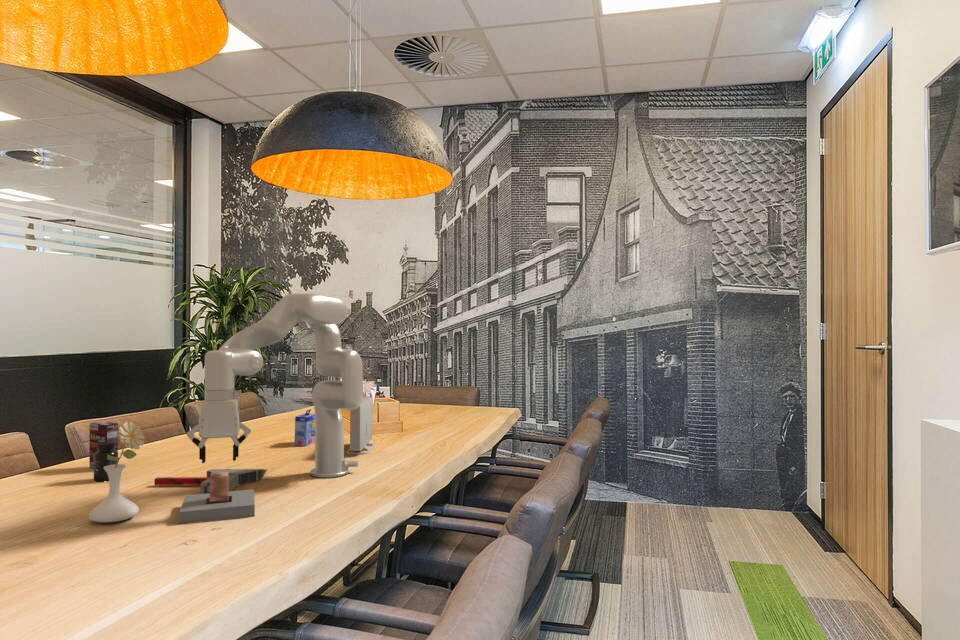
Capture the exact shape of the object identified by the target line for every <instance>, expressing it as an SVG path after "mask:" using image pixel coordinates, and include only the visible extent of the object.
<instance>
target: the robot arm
mask: <svg viewBox="0 0 960 640" xmlns="http://www.w3.org/2000/svg"><path fill="white" fill-rule="evenodd" d="M347 316H348V307H347V305H346V303H345V301H343V300H342V299H340V298H339V297H334V296H327V295H322V294H317V293H289V294H286V295H284V296H283V297H282V298H281V299H279V301H278V302H277V303H276V304H275V305H274V306H273V307H272V308H271V309H270V310H269V311H268V312H267V313H266V314H265V315H264V316H263V317H262V318H261V319H260V320H258V321H257V322H255V323H253V324H251V325H249V326H248V327H245V328H243V329H241V330H240V331H238V332H236V333H234V334H233V335H232V336H230V337H229V338H228V339H227V340H226V341H225V342H224V343H223V344H222V345H221V346H220V347H219V348H218V350H217V349H216V350H208V351H206V353H205V355H204V400H202V401H201V403H200V409H199V418H198V421H199V422H198V424H197V425H194V427H193V428H191V429H190V430H189V431H188V432H186V436H187V438H188V439H189V440H190V441H191V442H192V443H193V444H195V446H196V447H198V449H199V454H198V455H199V457H198V459H199V460H200V461H201V463H202V464H205V463H206V460H207V459H206V458H207V457H206V456H207V455H206V450H207V449H206V442H207V441H208V440H209V439H222V438H223V439H224V438H226V439H227V438H230V439H231V441H232V442H233V445H232V461H233V462H235V461H236V460H237V459H236V458H239V454H240V452H239V447H240V445H241V444H242V442H244V441H245V439H246V438H248V436H249V435H250V434H251V432H252V430H251V428H249V427H248V426H247V425H245V424H244V423H243V422H241V421H240V408H239V401H238V399H235V398H236V397H239V396H241V390H236V389H235V376H254V375H256V374H257V373H259V372H260V371H261V369H262V367H263V365H264V358H263V355H261V353H260V352H259V351H257V350H258V349H260V348H264V347H267V346H271V345H274V344H277V343H279V342H281V341H282V340H283V339H284V338H285V337H286V336H287V335H288V334H289V332H290V331H291V330H292V329H293V328H294V327H295V326H296V325H297V324H298V323H299V322H301V321H303V322H304V323H306V324H307V326H308V327H310V329H311V331H312V332H313V334H314V342H315V343H314V344H315V365H316V370H317V372H318V374H319V375H321V376H323V377H332V378H341V380H334V379H326V380H325V379H324V380H321V381H318V382H317V383H316V384H314V386H313V389H312V394H311V396H312V397H311V399H312V403H313V408H314V409H313V410H314V414H315V442H314V443H315V444H314V445H315V446H314V447H315V449H314V468H312V469H311V470H310V471H309V473H310V476H312V477H314V478H320V479H321V478H323V479H327V478H338V477H342V475H343V476H345V474H346V475H347V474H348V473H349V468H357V467H358V466H359V462H358V460H346V459H345V420H344V416H343V413H342V411H341V410H345V411H350V410H355V409H357V408H358V407H359V406H360V405H361V403H362V399H363V397H364V375H363V374H364V373H363V360H362V357H361V355H360V354H359V352H358V351H356V350H355V349H350V348H343V347H342V339H341V338H342V336H341V331H340V329H339V326H338V325H339V324H341V323H343V322H345V320H346V318H347ZM240 430H242V431H243V433H242V434H241V435H240V436H239V434H240ZM196 432H198V435H199V437H200V438H201V440H200V439H199V438H198V437H196V435H195V433H196ZM238 436H239V437H238ZM337 476H338V477H337Z"/></svg>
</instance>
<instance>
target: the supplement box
mask: <svg viewBox="0 0 960 640" xmlns="http://www.w3.org/2000/svg"><path fill="white" fill-rule="evenodd" d="M101 442H115V448H114V450H116V451H117V452H118V453H119V423H118V422H111V421H110V422H109V421H96V422H95V421H94V422H90V423H89V463H88V465H89V466H88V467H89V469H92V468H94V454H95V453H96V452H97V451H98V449H97V444H98V443H101Z"/></svg>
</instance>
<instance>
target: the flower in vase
mask: <svg viewBox="0 0 960 640" xmlns="http://www.w3.org/2000/svg"><path fill="white" fill-rule="evenodd" d="M137 426H138V425H136V423H135V422H134V423H133V421H130V422H129V423H128V422H127V421H124V423H123V424H122V426H119V427H118V437H119V438H120V439H119V440H120V442H122V444H123V447H122V450H121V451H120V452H121V453H120V454H119V456H118V457H113V456H110V455H107V459H108V460H113V461H117V463H116V465H109V466H105V467H104V469H105V471H106V472H107V474H108V477H109V491H108V495H107V497H106V498H105V499H104V500H102V501H101V502H100V503H98V504H97V505H96V506H95V507H94V508H93V509H92V510H91V511H90V512H89V515H88V518H89V519H90V521H92V522H95V523H103V524H104V523H106V524H107V523H116V522H121V521H125V520H127V519H130V518H133V517H135V516H136V515H137V514H138V513H139V511H140V508H139V506H138V505H137V504H136V503H135V502H133V501H131V499H128V498H127V497H125V496H124V495H123V494H122V493H121V491H120V490H121V489H120V483H121V481H120V480H121V475H122V473H123V470H124V469H125V468H126V464H119V461H120V459H121V458H122V456H123V457H125V458H126V459H128V460H131V459H134V458H135V457H136V456H137V453H136V452H135V451H134V450H140V447H141V446H144V444H145V438H146V437H145V435H144V432H143V431H142V430H141V427H137ZM125 448H127V449H126V450H125ZM133 449H134V450H133Z"/></svg>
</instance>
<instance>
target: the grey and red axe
mask: <svg viewBox="0 0 960 640" xmlns="http://www.w3.org/2000/svg"><path fill="white" fill-rule="evenodd" d="M219 472H228V492H229V491H233V490H234V489H235V488H236V487H238V486H240V485H245V483H246V484H250V483H256V482H259V481H260V480H262V478H263V477H265V476H264V475H265V474H266V472H268V469H266V468H211V469H208V470H206V477H204V476H202V477H200V476H198V477H196V476H195V477H189V476H187V477H186V476H185V477H177V476H176V477H175V476H174V477H172V476H171V477H169V476H168V477H156V478H153V479H154V482H153V483H154V486H200V494H207V493H210V474H211V473H219ZM255 481H256V482H255ZM239 484H240V485H239ZM237 485H238V486H237ZM233 488H234V489H233Z"/></svg>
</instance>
